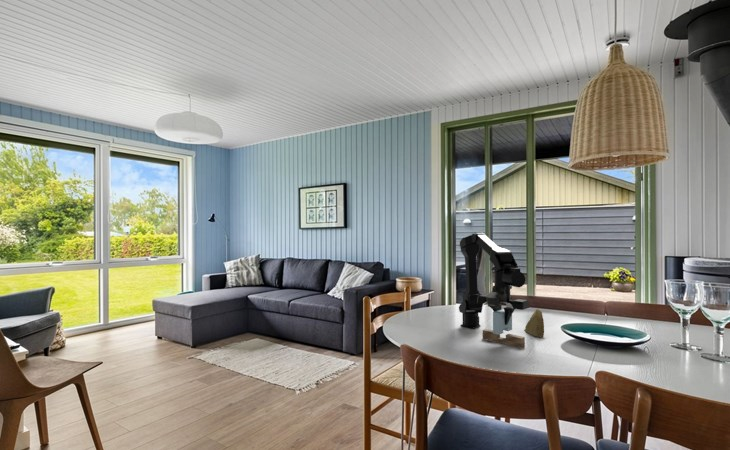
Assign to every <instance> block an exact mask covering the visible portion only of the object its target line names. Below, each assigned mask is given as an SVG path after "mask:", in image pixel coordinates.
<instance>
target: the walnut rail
mask: <svg viewBox="0 0 730 450" xmlns="http://www.w3.org/2000/svg"><path fill="white" fill-rule="evenodd" d="M481 331H482V333H481V334H482V340H486V341H490V342H494V343H495V342H496V343H498V344H499V343H500V344H503V345H508V346H512V347H516V348H520V349H522V348H525V346H526V342H525V341H526V338H525V336H522V335H516V334H512V333H507V334H505V337H502V336H501V334H500V335H498V334H494V333H493V329H487V328H483V329H482V330H481Z"/></svg>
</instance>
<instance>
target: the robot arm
mask: <svg viewBox="0 0 730 450" xmlns="http://www.w3.org/2000/svg"><path fill="white" fill-rule="evenodd" d="M459 247H460V252H461V254H462V255H463V257H464V267H465V268H464V269H465V270H464V271H465V291H464V293H463V295H462V301H461V303H460V304H459V306H458V311H459V313H460V314H461V313H462V316H461V317H462V324H460V327H464V328H470V329H475V328H479V327H481V324H480V316H479V313H481V314H482V312H483V311H482V310H483V307H484V304H485V303H486V302H487V303H486V304H487V307H489V308H490V309H491V310H492V311H493V312H495V311H498V310H502V309H504V311H505V325H507V324H508V322H509V319H510V317H511V315H512V316H513V313H514V311H515V310H520V311H523V310H526V309H530V302H529V300H527V299H521V298H520V299H519V298H517V299H514V300H513V296H511V290H512V288H513V287H515V288H521V287H523V286H524V285H525V283H526V277H525V274H524V273H523V272H522V271H521V268H520V267H518V263H517V261H516V259H515V258H514V255H513V253H512V252H511V250H508V249H507V248H504V247H503V248H502V247H500V246H498V245H497V244H496V243H495V242H494V241H493V240H491V238H489V237H488V236H487V234H486V233H485V232H474V233H472V234H470V235H468V236H465V237H462V238H461V239H460V241H459ZM480 248H481V249H482V250H483V251H484V252H485V253H487V255H488V256H489V261H490V262H491V263H492V265H493V267H492V268H491V271H493V272H494V273H493V274H494V279H493V280H494V282H493V283H494V285H493V286H492V288H491V291H490V292H489V293H487V294H482V293H480V291H479V290H478V268H477V265H478V263H477V256H478V254H479V253H480V251H481V249H480ZM502 305H505V307H502Z"/></svg>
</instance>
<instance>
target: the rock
mask: <svg viewBox="0 0 730 450" xmlns="http://www.w3.org/2000/svg"><path fill="white" fill-rule="evenodd" d="M543 317H544V316H543V312H542V311H541V310H540V309H535V311H534V312H533V313H532V315H531V316H530V318H529V319H528V322H527V323H526V325H525V328H524V331H525V333H528V334H529V335H531V336H535V337H537V338H544V336H545V335H544V334H545V325H544V324H545V323H544V318H543Z"/></svg>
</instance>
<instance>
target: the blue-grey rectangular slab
mask: <svg viewBox="0 0 730 450" xmlns="http://www.w3.org/2000/svg"><path fill="white" fill-rule="evenodd" d="M492 330H493V333H494V334H498V335H500V336H501V335H502V334H504V331H505V332H509V331H510V332H511V331H512V330H513V314H512V315H511V317H510V319H509V322H508V324H507V325H505V311H504V308H501V310H498V311H495V312H494V311H493V312H492Z"/></svg>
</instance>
